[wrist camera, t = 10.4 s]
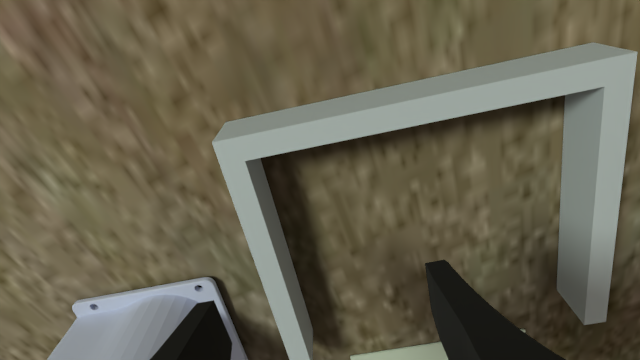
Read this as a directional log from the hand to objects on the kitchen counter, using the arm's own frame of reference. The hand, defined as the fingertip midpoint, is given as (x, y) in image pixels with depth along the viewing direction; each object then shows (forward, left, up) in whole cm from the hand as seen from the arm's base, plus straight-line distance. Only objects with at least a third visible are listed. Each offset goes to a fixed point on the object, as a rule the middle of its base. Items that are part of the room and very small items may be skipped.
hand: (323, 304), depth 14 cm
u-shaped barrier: (+5, -4, -10) cm, 12 cm away
